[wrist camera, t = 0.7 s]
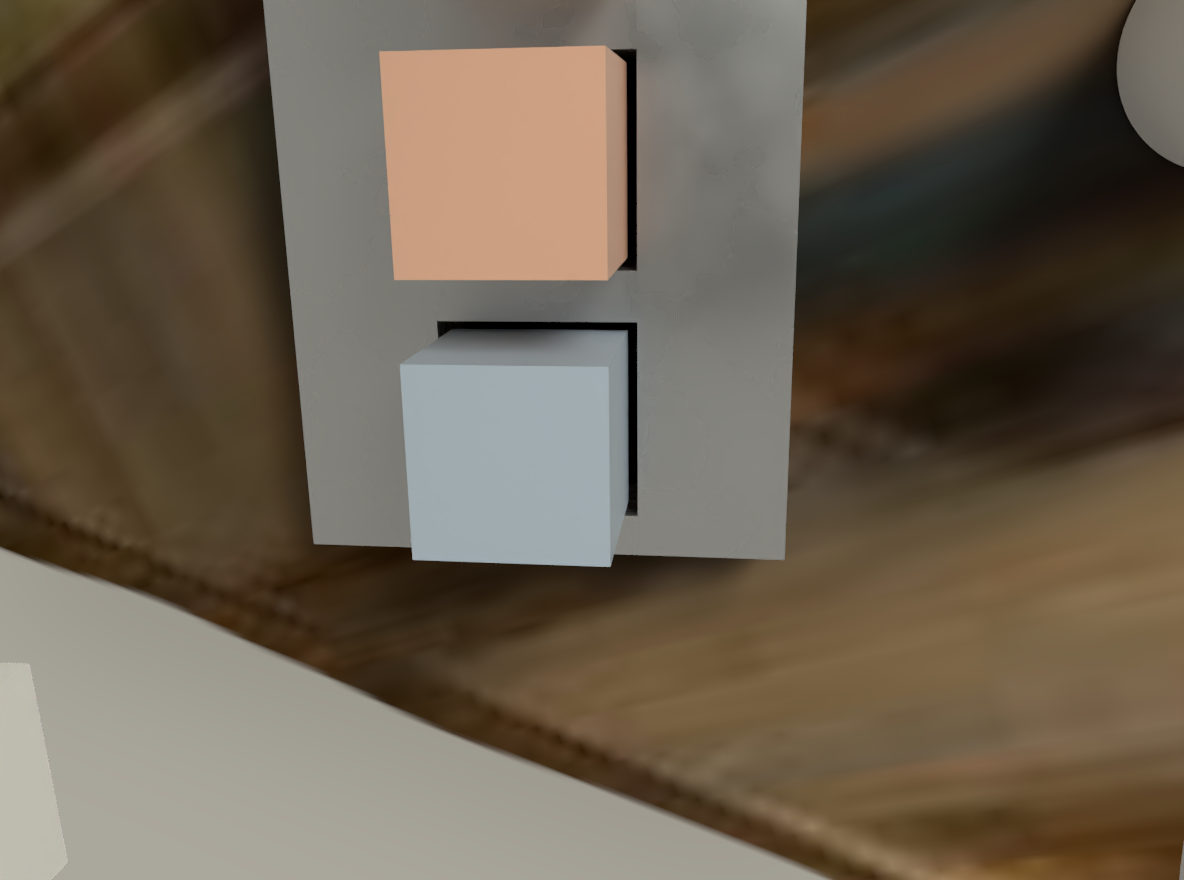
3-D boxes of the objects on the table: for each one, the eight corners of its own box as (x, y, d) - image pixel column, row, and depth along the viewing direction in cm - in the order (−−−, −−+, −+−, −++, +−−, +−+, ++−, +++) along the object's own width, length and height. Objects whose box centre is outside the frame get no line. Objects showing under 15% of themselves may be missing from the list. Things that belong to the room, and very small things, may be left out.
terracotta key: (439, 67, 28) (378, 51, 23) (627, 62, 27) (605, 45, 22) (448, 257, 29) (393, 280, 24) (627, 257, 28) (607, 280, 24)
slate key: (452, 329, 29) (399, 364, 25) (627, 329, 29) (608, 366, 24) (460, 495, 31) (412, 559, 26) (628, 500, 30) (610, 566, 25)
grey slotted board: (285, -254, 28) (235, -299, 25) (809, -288, 26) (820, -341, 24) (348, 510, 34) (313, 544, 31) (779, 523, 32) (784, 560, 30)
